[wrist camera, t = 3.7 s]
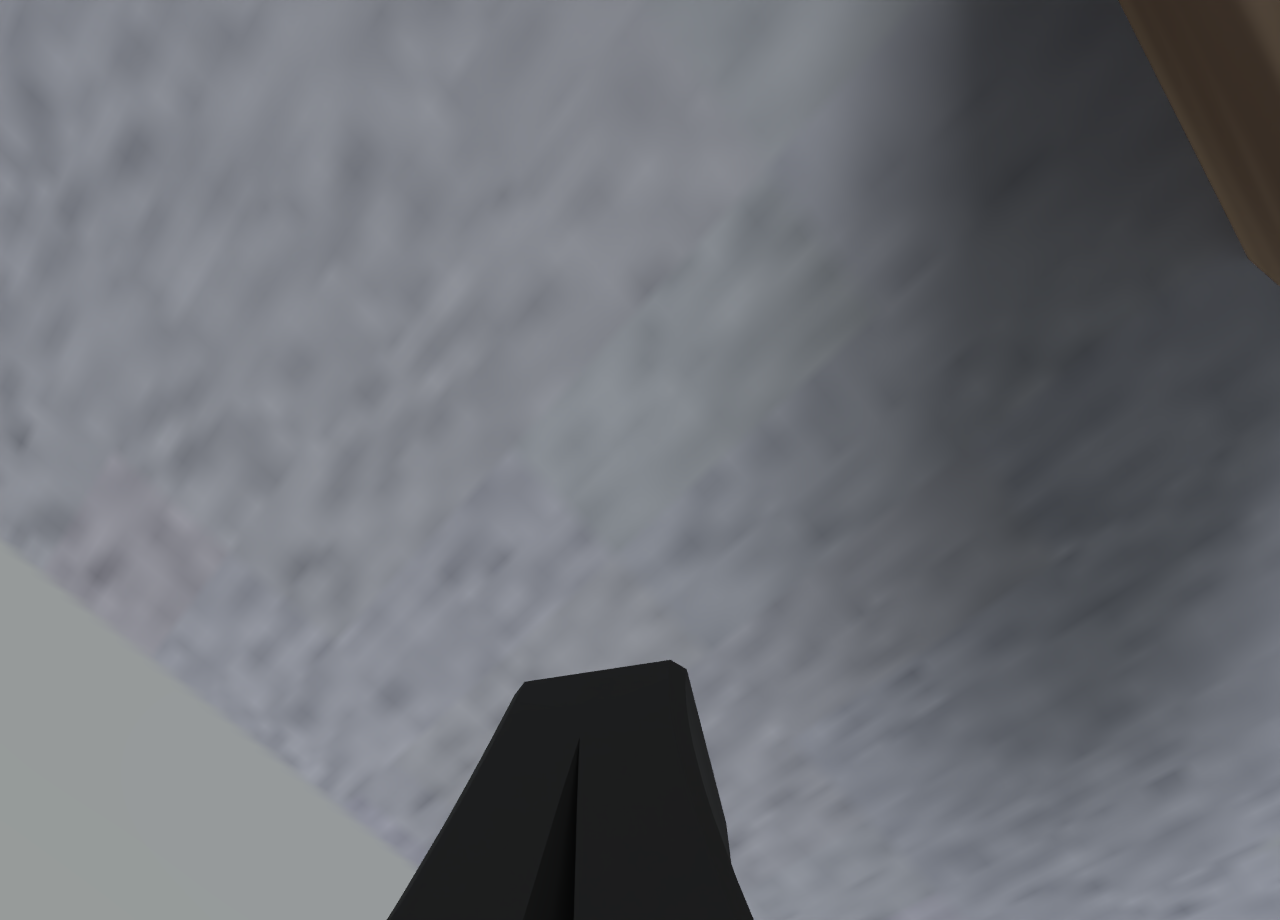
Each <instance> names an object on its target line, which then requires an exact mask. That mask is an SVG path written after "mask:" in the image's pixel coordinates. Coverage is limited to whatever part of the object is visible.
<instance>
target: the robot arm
mask: <svg viewBox="0 0 1280 920" xmlns="http://www.w3.org/2000/svg"><path fill="white" fill-rule="evenodd" d="M387 920H754V919H753V917H752V915H751V912H750V910H749V907H748V905H747V902H746V900H745V898H744V895H743V893H742V890H741V888H740V886H739V883H738V881H737V878H736V875H735V873H734V870H733V867H732V865H731V858H730V850H729V842H728V834H727V826H726V821H725V817H724V813H723V809H722V805H721V801H720V798H719V794H718V790H717V786H716V782H715V778H714V774H713V770H712V766H711V762H710V759H709V755H708V751H707V747H706V743H705V739H704V735H703V731H702V727H701V723H700V719H699V716H698V712H697V708H696V704H695V700H694V696H693V692H692V688H691V684H690V680H689V677H688V673H687V669H685V668H683V667H682V666H680V665H678V664H677V663H675V662H673V661H671V660H667V661H660V662H653V663H647V664H640V665H633V666H627V667H620V668H613V669H607V670H600V671H594V672H587V673H580V674H574V675H567V676H560V677H554V678H547V679H540V680H534V681H527V682H524V684H523V685H522V686H521V687H520V689H519V690H518V691H517V693H516V694H515V695H514V697H513V699H512V701H511V703H510V705H509V707H508V709H507V711H506V712H505V714H504V716H503V718H502V720H501V722H500V724H499V726H498V728H497V729H496V731H495V733H494V735H493V737H492V739H491V741H490V743H489V744H488V746H487V748H486V750H485V752H484V754H483V756H482V758H481V759H480V761H479V763H478V765H477V767H476V769H475V770H474V772H473V774H472V776H471V778H470V779H469V781H468V783H467V785H466V787H465V788H464V790H463V792H462V794H461V796H460V797H459V799H458V801H457V803H456V805H455V806H454V808H453V810H452V812H451V813H450V815H449V817H448V819H447V821H446V822H445V824H444V826H443V827H442V829H441V831H440V832H439V834H438V836H437V837H436V839H435V841H434V843H433V844H432V846H431V848H430V849H429V851H428V853H427V854H426V856H425V858H424V859H423V861H422V863H421V864H420V866H419V868H418V869H417V871H416V873H415V874H414V876H413V878H412V879H411V881H410V883H409V885H408V886H407V888H406V890H405V891H404V893H403V895H402V896H401V898H400V900H399V901H398V903H397V905H396V906H395V908H394V909H393V911H392V912H391V914H390V916H389V917H388V919H387Z"/></svg>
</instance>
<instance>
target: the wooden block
mask: <svg viewBox="0 0 1280 920" xmlns="http://www.w3.org/2000/svg"><path fill="white" fill-rule="evenodd" d="M1118 1H1119V3H1120V5H1121V7H1122V9H1123V11H1124V13H1125V15H1126V17H1127V19H1128V21H1129V23H1130V25H1131V27H1132V29H1133V31H1134V33H1135V35H1136V37H1137V39H1138V41H1139V43H1140V44H1141V46H1142V48H1143V50H1144V52H1145V54H1146V56H1147V58H1148V60H1149V62H1150V64H1151V66H1152V68H1153V70H1154V72H1155V74H1156V76H1157V78H1158V80H1159V82H1160V84H1161V86H1162V88H1163V90H1164V92H1165V94H1166V96H1167V98H1168V100H1169V102H1170V104H1171V106H1172V108H1173V110H1174V112H1175V114H1176V116H1177V118H1178V120H1179V122H1180V124H1181V126H1182V128H1183V130H1184V132H1185V134H1186V136H1187V138H1188V140H1189V142H1190V144H1191V146H1192V148H1193V150H1194V152H1195V154H1196V156H1197V158H1198V160H1199V162H1200V164H1201V166H1202V168H1203V170H1204V172H1205V174H1206V176H1207V178H1208V180H1209V182H1210V184H1211V186H1212V188H1213V190H1214V192H1215V194H1216V195H1217V197H1218V199H1219V201H1220V203H1221V205H1222V207H1223V209H1224V211H1225V213H1226V215H1227V217H1228V219H1229V221H1230V223H1231V225H1232V227H1233V229H1234V231H1235V233H1236V235H1237V237H1238V239H1239V241H1240V243H1241V245H1242V247H1243V249H1244V251H1245V253H1246V255H1247V257H1248V259H1249V260H1250V261H1251V262H1252V263H1253V264H1255V265H1256V266H1257V267H1258V268H1259V269H1260V270H1261V271H1263V272H1264V273H1265V274H1266V275H1267V276H1268V277H1269V278H1271V279H1272V280H1273V281H1274V282H1275V283H1276V284H1277V285H1279V286H1280V0H1118Z"/></svg>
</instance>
